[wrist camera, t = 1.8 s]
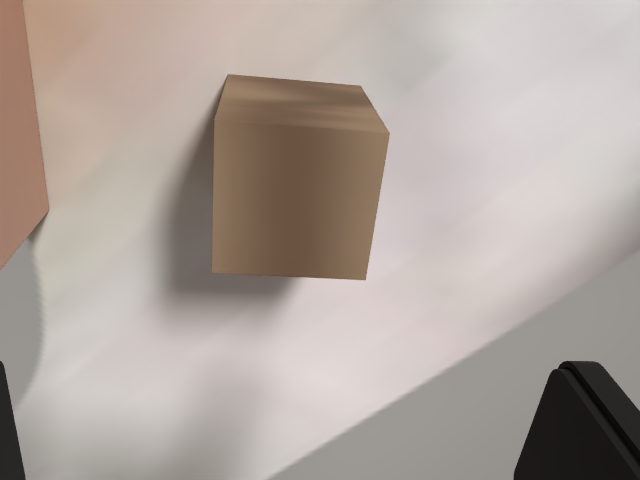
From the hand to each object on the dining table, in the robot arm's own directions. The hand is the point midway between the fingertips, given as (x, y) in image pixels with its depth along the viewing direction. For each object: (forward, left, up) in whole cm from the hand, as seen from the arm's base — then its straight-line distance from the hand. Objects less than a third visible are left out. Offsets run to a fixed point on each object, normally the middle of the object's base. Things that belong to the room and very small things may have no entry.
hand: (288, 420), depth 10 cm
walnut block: (0, 0, -14) cm, 14 cm away
